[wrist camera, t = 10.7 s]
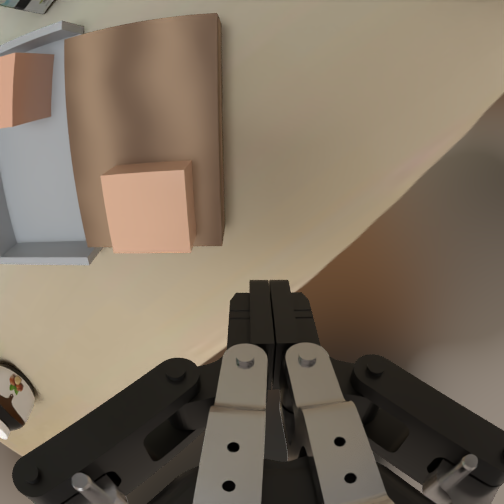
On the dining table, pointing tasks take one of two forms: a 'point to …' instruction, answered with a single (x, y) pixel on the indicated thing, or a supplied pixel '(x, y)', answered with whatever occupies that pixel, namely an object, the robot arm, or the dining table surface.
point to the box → (41, 172)
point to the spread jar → (14, 400)
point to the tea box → (27, 5)
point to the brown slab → (147, 112)
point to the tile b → (150, 207)
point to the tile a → (25, 88)
